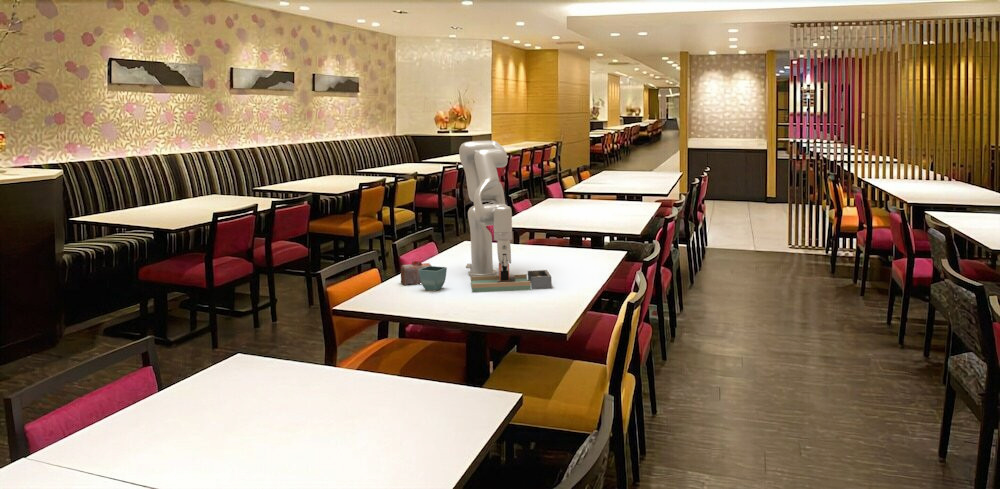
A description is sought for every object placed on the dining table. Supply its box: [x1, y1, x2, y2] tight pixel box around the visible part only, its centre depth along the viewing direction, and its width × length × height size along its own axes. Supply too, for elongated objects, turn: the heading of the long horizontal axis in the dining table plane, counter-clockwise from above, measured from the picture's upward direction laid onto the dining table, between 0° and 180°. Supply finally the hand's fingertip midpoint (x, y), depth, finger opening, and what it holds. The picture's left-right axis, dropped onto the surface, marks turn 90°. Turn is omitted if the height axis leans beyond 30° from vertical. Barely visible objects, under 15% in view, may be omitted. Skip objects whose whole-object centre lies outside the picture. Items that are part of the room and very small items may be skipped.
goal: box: [527, 269, 553, 290], centre depth 318 cm, size 8×13×5 cm, turn 4°
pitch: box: [470, 273, 532, 293], centre depth 317 cm, size 24×15×3 cm, turn 94°
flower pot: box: [419, 265, 448, 292], centre depth 315 cm, size 9×9×9 cm
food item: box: [400, 260, 432, 286], centre depth 328 cm, size 14×8×10 cm, turn 114°
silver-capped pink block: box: [497, 262, 516, 283], centre depth 316 cm, size 7×4×8 cm, turn 94°
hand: (504, 278), depth 317 cm, fingers closed on silver-capped pink block, 4 cm apart
